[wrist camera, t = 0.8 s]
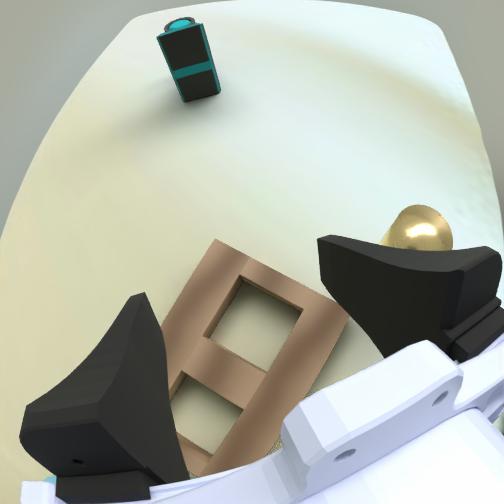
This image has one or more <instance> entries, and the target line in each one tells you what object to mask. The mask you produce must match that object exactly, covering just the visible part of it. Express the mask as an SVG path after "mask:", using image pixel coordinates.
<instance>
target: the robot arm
mask: <svg viewBox="0 0 504 504" xmlns="http://www.w3.org/2000/svg"><path fill="white" fill-rule="evenodd" d="M317 244H318V254H319V264H320V275H321V281H322V283H323V284H324V286H325V287H326V289H327V290H328V292H329V293H330V294H331V296H332V297H333V298H334V299H335V300H336V301H337V303H338V304H339V305H340V306H341V307H342V308H343V309H344V310H345V311H346V312H347V313H348V314H349V315H350V316H351V317H352V318H353V319H354V320H355V321H356V322H357V323H358V325H359V326H360V327H361V328H362V329H363V330H364V331H365V332H366V333H367V335H368V336H369V337H370V338H371V340H372V341H373V343H374V344H375V345H376V347H377V348H378V350H379V351H380V352H381V354H382V355H383V357H384V358H385V359H383V360H382V361H380V362H378V363H376V364H374V365H372V366H370V367H368V368H366V369H364V370H362V371H360V372H358V373H356V374H354V375H352V376H350V377H347V378H345V379H343V380H341V381H339V382H337V383H334V384H332V385H330V386H328V387H325V388H323V389H321V390H319V391H317V392H316V393H314V394H312V395H311V396H309V397H307V398H306V399H304V400H302V401H300V402H299V403H298V404H297V405H296V406H295V407H294V408H293V409H292V410H291V411H290V413H289V414H288V415H287V416H286V417H285V418H284V420H283V423H282V427H281V431H280V436H281V440H282V444H283V448H281V449H279V450H277V451H275V452H273V453H271V454H270V455H268V456H266V457H264V458H262V459H260V460H258V461H256V462H254V463H252V464H248V465H245V466H242V467H238V468H235V469H231V470H228V471H224V472H220V473H217V474H213V475H209V476H204V477H200V478H196V479H190V476H189V473H188V470H187V467H186V464H185V461H184V458H183V454H182V451H181V448H180V444H179V440H178V436H177V433H176V429H175V424H174V420H173V415H172V411H171V406H170V398H169V385H168V370H167V354H166V348H165V342H164V337H163V332H162V330H161V328H160V326H159V323H158V321H157V319H156V317H155V314H154V312H153V310H152V308H151V305H150V303H149V301H148V298H147V296H146V294H145V292H143V293H140V294H137V295H133V296H131V297H130V298H129V299H128V301H127V302H126V304H125V305H124V307H123V308H122V310H121V311H120V313H119V315H118V316H117V318H116V319H115V321H114V322H113V324H112V325H111V327H110V328H109V330H108V331H107V332H106V334H105V335H104V337H103V338H102V339H101V341H100V342H99V343H98V345H97V346H96V347H95V348H94V350H93V351H92V352H91V353H90V354H89V355H88V357H87V358H86V359H85V360H84V361H83V362H82V363H81V364H80V365H79V366H78V367H77V368H76V369H75V370H74V371H73V372H72V373H71V374H70V375H68V376H67V377H66V378H65V379H64V380H63V381H61V382H60V383H59V384H58V385H56V386H55V387H54V388H53V389H51V390H50V391H48V392H47V393H46V394H44V395H43V396H41V397H39V398H38V399H36V400H35V401H33V402H32V403H30V404H28V405H27V406H26V409H25V413H24V417H23V422H22V426H21V430H20V435H19V438H20V443H21V444H22V446H23V447H24V449H25V450H26V452H27V453H28V454H29V455H30V456H31V457H33V458H34V459H35V460H36V461H37V462H39V463H40V464H41V465H42V466H44V467H45V468H46V469H48V470H49V471H50V472H51V473H53V474H54V475H56V485H55V484H53V483H50V482H44V481H22V489H21V500H20V504H504V436H503V435H502V434H501V433H500V432H499V431H498V430H497V429H496V428H495V427H494V426H493V422H494V421H495V420H496V419H497V418H498V417H499V416H500V415H501V414H502V413H503V412H504V309H503V308H501V307H500V305H501V300H500V299H499V298H497V297H496V293H497V289H498V286H499V282H500V278H501V273H502V259H501V255H500V254H499V253H498V252H497V251H495V250H493V249H491V248H489V247H487V246H482V247H475V248H469V249H461V250H447V251H425V250H411V249H401V248H394V247H389V246H383V245H378V244H373V243H369V242H364V241H360V240H356V239H351V238H347V237H342V236H337V235H327V236H324V237H321V238H318V239H317Z"/></svg>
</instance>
